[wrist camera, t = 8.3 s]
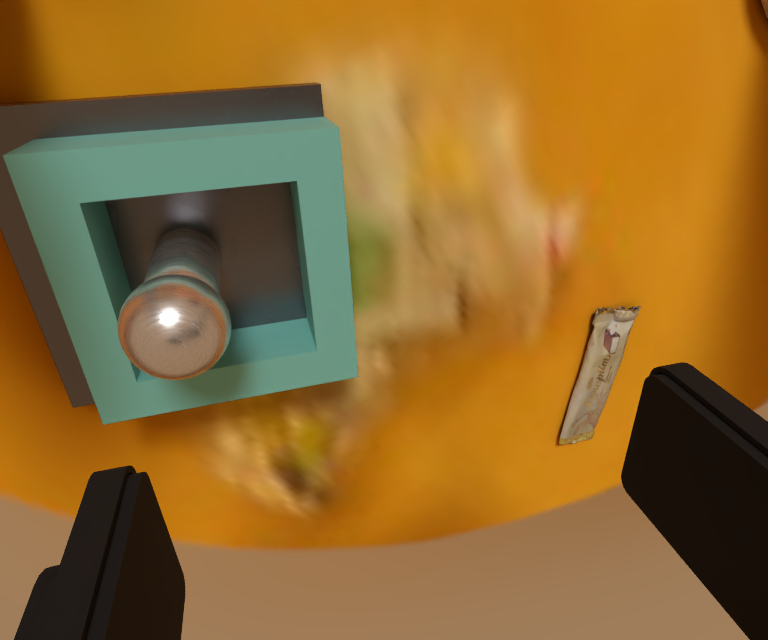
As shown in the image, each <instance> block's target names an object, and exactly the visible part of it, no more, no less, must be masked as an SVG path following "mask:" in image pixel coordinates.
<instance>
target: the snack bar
mask: <svg viewBox="0 0 768 640" xmlns="http://www.w3.org/2000/svg"><path fill="white" fill-rule="evenodd" d="M620 308H621V307H620V306H619V307H618V308H617V309H619V310H616V309H615V308H612V309H611V308H604V307H603V308H598V309H597V311H596V312H595V315H594V318H593V323H592V324H593V325H594V329H593V332H592V334H591V336H590V339H589V341H588V345H587V349H586V352H585V354H584V357H583V362H582V365H581V369H580V373H579V376H578V378H577V381H576V384H575V387H574V390H573V393H572V396H571V399H570V403H569V406H568V410H567V413H566V417H565V420H564V424H563V428H562V431H561V435H560V440H559V444H560V445H562V444H567V443H571V442H572V443H576V442H577V441H579V442H580V441H581V440H585V439H586V440H587V439H592V437H593V435H594V428H595V427H596V425H597V422H598V419H599V417H600V414H601V412H602V409H603V408H604V405H605V403H606V400H607V398H608V395H609V392H610V389H611V386H612V384H613V381H614V379H615V376H616V373H617V371H618V368H619V366H620V363H621V360H622V358H623V354H624V349H625V346H626V342H627V339H628V336H629V333H630V330H631V327H632V325H633V322H634V320H635V317H637V315H638V313H639V308H641V307H640V306H638V307H634V306H633V307H632V308H629V309H628V310H629V311H627V310H625V311H624V310H620ZM603 309H604V310H603ZM622 309H625V307H623V306H622ZM632 309H635V310H634V311H633V312H632Z"/></svg>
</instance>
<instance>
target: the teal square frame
mask: <svg viewBox="0 0 768 640" xmlns="http://www.w3.org/2000/svg"><path fill="white" fill-rule="evenodd" d="M3 158H4V161H5V163H6V166H7V169H8V171H9V174H10V177H11V179H12V182H13V185H14V187H15V190H16V193H17V195H18V198H19V201H20V203H21V206H22V209H23V211H24V214H25V217H26V219H27V222H28V225H29V227H30V230H31V233H32V235H33V238H34V241H35V244H36V246H37V249H38V252H39V254H40V257H41V260H42V262H43V265H44V268H45V270H46V273H47V276H48V278H49V281H50V284H51V286H52V289H53V292H54V294H55V297H56V300H57V302H58V305H59V308H60V310H61V313H62V316H63V318H64V321H65V324H66V327H67V329H68V332H69V335H70V337H71V340H72V343H73V345H74V348H75V351H76V353H77V356H78V359H79V361H80V364H81V367H82V369H83V372H84V375H85V377H86V380H87V383H88V385H89V388H90V391H91V393H92V396H93V399H94V401H95V404H96V407H97V410H98V412H99V415H100V418H101V420H102V423H103V425H104V424H109V423H115V422H120V421H125V420H131V419H136V418H141V417H147V416H152V415H157V414H163V413H168V412H173V411H179V410H184V409H189V408H195V407H200V406H205V405H211V404H216V403H221V402H227V401H232V400H237V399H243V398H248V397H254V396H259V395H264V394H270V393H275V392H280V391H286V390H291V389H296V388H302V387H307V386H312V385H318V384H323V383H328V382H334V381H339V380H344V379H350V378H355V377H358V365H357V352H356V339H355V326H354V312H353V299H352V286H351V273H350V260H349V247H348V234H347V221H346V207H345V194H344V181H343V168H342V155H341V142H340V129H339V127H338V126H337V125H335V124H334V123H332V122H331V121H330V120H328V119H327V118H325V117H315V118H302V119H289V120H276V121H264V122H251V123H238V124H225V125H212V126H199V127H186V128H173V129H160V130H148V131H135V132H122V133H109V134H96V135H83V136H70V137H57V138H44V139H34V140H32V141H30V142H28V143H26V144H24V145H22V146H20V147H18V148H16V149H14V150H12V151H10V152H8V153H6V154H4V155H3ZM281 182H290V187H291V195H292V203H293V211H294V219H295V228H296V236H297V244H298V252H299V260H300V268H301V276H302V284H303V292H304V300H305V308H306V316H307V318H303V319H296V320H290V321H284V322H277V323H271V324H265V325H259V326H252V327H246V328H240V329H233V330H231V336H230V341H229V343H228V346H227V348H226V350H225V352H224V354H223V355H222V357H221V358H220V359H219V360H218V362H217V363H216V364H215V365H214V366H212V367H211V368H210V369H208V370H207V371H205V372H204V373H202V374H200V375H198V376H195V377H192V378H188V379H183V380H166V379H160V378H157V377H153V376H151V375H149V374H147V373H145V372H143V371H141V370H140V369H139V368H137V367H136V366H135V365H134V364H133V363H132V362H131V361H130V360H129V359H128V357H127V356H126V354H125V353H124V351H123V349H122V347H121V344H120V341H119V337H118V328H117V326H118V318H119V314H120V310H121V308H122V306H123V304H124V302H125V300H126V299H127V297H128V296H129V295H130V294H131V289H130V286H129V282H128V279H127V276H126V272H125V269H124V266H123V262H122V259H121V255H120V252H119V249H118V245H117V242H116V239H115V235H114V232H113V228H112V225H111V222H110V218H109V215H108V211H107V208H106V205H105V201H106V200H116V199H126V198H135V197H145V196H155V195H165V194H174V193H184V192H194V191H204V190H213V189H223V188H233V187H242V186H252V185H262V184H272V183H281Z"/></svg>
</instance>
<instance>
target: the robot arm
mask: <svg viewBox="0 0 768 640" xmlns="http://www.w3.org/2000/svg"><path fill="white" fill-rule="evenodd" d="M761 2H762V5H763V8H764V11H765V14H766V16H767V18H768V0H761ZM621 479H622V484H623V487H624V488H625V490H626V492H627V493H628V495H629V496H630V497H631V498H632V500H634V502H635V503H636V504H637V505H638V507H639V508H640V509H641V510H642V511H643V513H644V514H645V515H646V516H647V517H648V518H649V520H650V521H651V522H652V523H653V525H654V526H655V527H656V528H657V529H658V531H659V532H660V533H661V534H662V535H663V537H664V538H665V539H666V540H667V541H668V542H669V544H670V545H671V546H672V547H673V548H674V550H675V551H676V552H677V553H678V554H679V556H680V557H681V558H682V559H683V560H684V561H685V563H686V564H687V565H688V566H689V568H690V569H691V570H692V571H693V572H694V574H695V575H696V576H697V577H698V578H699V580H700V581H701V582H702V583H703V584H704V586H705V587H706V588H707V589H708V590H709V591H710V593H711V594H712V595H713V596H714V597H715V599H716V600H717V601H718V602H719V603H720V604H721V606H722V607H723V608H724V609H725V611H726V612H727V613H728V614H729V615H730V617H731V618H732V619H733V620H734V621H735V623H736V624H737V625H738V626H739V627H740V628H741V630H742V631H743V632H744V633H745V635H746V636H747V637H748V638H749V639H750V640H768V422H767V421H766V420H764V419H763V418H762V417H760V416H759V415H758V414H756V413H755V412H754V411H752V410H751V409H750V408H748V407H747V406H746V405H744V404H743V403H742V402H740V401H739V400H738V399H736V398H735V397H733V396H732V395H731V394H729V393H728V392H727V391H725V390H724V389H723V388H721V387H720V386H719V385H717V384H716V383H715V382H713V381H712V380H710V379H709V378H708V377H706V376H705V375H704V374H702V373H701V372H700V371H698V370H697V369H696V368H694V367H693V366H691V365H690V364H688V363H676V364H671V365H666V366H660V367H656V368H654V369H653V370H652V371H651V373H650V375H649V377H647V378H646V379H645V381H644V384H643V389H642V393H641V397H640V401H639V405H638V409H637V413H636V417H635V421H634V425H633V429H632V433H631V437H630V441H629V445H628V449H627V453H626V457H625V461H624V465H623V469H622V474H621ZM184 602H185V580H184V575H183V572H182V569H181V566H180V563H179V560H178V558H177V555H176V552H175V549H174V546H173V543H172V541H171V538H170V535H169V532H168V529H167V527H166V524H165V521H164V518H163V515H162V513H161V510H160V507H159V504H158V501H157V498H156V496H155V493H154V490H153V487H152V484H151V482H150V479H149V476H148V474H147V473H146V472H141V473H136V471H135V469H134V468H133V467H132V466H124V467H119V468H114V469H108V470H103V471H98V472H94V473H93V474H92V475H91V476H90V478H89V481H88V484H87V487H86V490H85V493H84V496H83V498H82V501H81V504H80V507H79V510H78V513H77V516H76V519H75V522H74V525H73V528H72V531H71V534H70V537H69V540H68V543H67V546H66V549H65V552H64V554H63V557H62V560H61V563H60V565H57V566H52V567H49V568H46V569H45V570H44V571H43V572H42V573H41V574H40V575H39V577H38V579H37V581H36V583H35V585H34V587H33V590H32V593H31V595H30V598H29V601H28V603H27V606H26V609H25V612H24V614H23V617H22V619H21V622H20V625H19V627H18V630H17V633H16V635H15V638H14V640H181V632H182V622H183V612H184Z"/></svg>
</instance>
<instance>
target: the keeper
mask: <svg viewBox="0 0 768 640" xmlns="http://www.w3.org/2000/svg"><path fill="white" fill-rule="evenodd" d="M315 117H324V116H323V105H322V94H321V84H318V83H305V84H290V85H275V86H261V87H246V88H231V89H216V90H202V91H187V92H172V93H157V94H143V95H128V96H113V97H98V98H83V99H69V100H54V101H39V102H24V103H10V104H0V229H1V231H2V234H3V236H4V239H5V241H6V244H7V246H8V249H9V251H10V254H11V256H12V258H13V261H14V263H15V266H16V268H17V271H18V273H19V276H20V278H21V281H22V283H23V286H24V288H25V290H26V293H27V295H28V298H29V300H30V303H31V305H32V308H33V310H34V313H35V315H36V318H37V320H38V322H39V325H40V327H41V330H42V332H43V335H44V337H45V340H46V342H47V345H48V347H49V350H50V352H51V355H52V357H53V359H54V362H55V364H56V367H57V369H58V372H59V374H60V377H61V379H62V382H63V384H64V387H65V389H66V391H67V394H68V396H69V399H70V401H71V404H72V406H73V407H79V406H84V405H90V404H95V401H94V399H93V396H92V393H91V391H90V388H89V385H88V383H87V380H86V377H85V375H84V372H83V369H82V367H81V364H80V361H79V359H78V356H77V353H76V351H75V348H74V345H73V343H72V340H71V337H70V335H69V332H68V329H67V327H66V324H65V321H64V318H63V316H62V313H61V310H60V308H59V305H58V302H57V300H56V297H55V294H54V292H53V289H52V286H51V284H50V281H49V278H48V276H47V273H46V270H45V268H44V265H43V262H42V260H41V257H40V254H39V252H38V249H37V246H36V244H35V241H34V238H33V235H32V233H31V230H30V227H29V225H28V222H27V219H26V217H25V214H24V211H23V209H22V206H21V203H20V201H19V198H18V195H17V193H16V190H15V187H14V185H13V182H12V179H11V177H10V174H9V171H8V169H7V166H6V163H5V161H4V158H3V155H4V154H6V153H8V152H10V151H12V150H14V149H16V148H18V147H20V146H22V145H24V144H26V143H28V142H30V141H32V140H34V139H44V138H57V137H70V136H83V135H96V134H109V133H122V132H135V131H148V130H160V129H173V128H186V127H199V126H212V125H225V124H238V123H251V122H264V121H276V120H289V119H302V118H315ZM105 205H106V208H107V211H108V215H109V218H110V222H111V225H112V228H113V232H114V235H115V239H116V242H117V245H118V249H119V252H120V255H121V259H122V262H123V266H124V269H125V272H126V276H127V279H128V282H129V286H130V289H131V294H130V295H129V296H128V297H127V299H126V300H125V302H124V304H123V306H122V308H121V310H120V314H119V318H118V326H117V328H118V337H119V341H120V344H121V347H122V349H123V351H124V353H125V354H126V356H127V357H128V359H129V360H130V361H131V362H132V363H133V364H134V365H135V366H136V367H137V368H139V369H140V370H141V371H143V372H145V373H147V374H149V375H151V376H153V377H157V378H160V379H166V380H183V379H188V378H192V377H195V376H198V375H200V374H202V373H204V372H205V371H207V370H208V369H210V368H211V367H212V366H214V365H215V364H216V363H217V362H218V360H219V359H220V358H221V357H222V355H223V354H224V352H225V350H226V348H227V346H228V343H229V341H230V336H231V330H233V329H240V328H246V327H252V326H259V325H265V324H271V323H277V322H284V321H290V320H296V319H303V318H307V316H306V308H305V300H304V292H303V284H302V276H301V268H300V260H299V252H298V244H297V236H296V228H295V219H294V211H293V203H292V195H291V187H290V182H281V183H272V184H262V185H252V186H242V187H233V188H223V189H213V190H204V191H194V192H184V193H174V194H165V195H155V196H145V197H135V198H126V199H116V200H106V201H105Z"/></svg>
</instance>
